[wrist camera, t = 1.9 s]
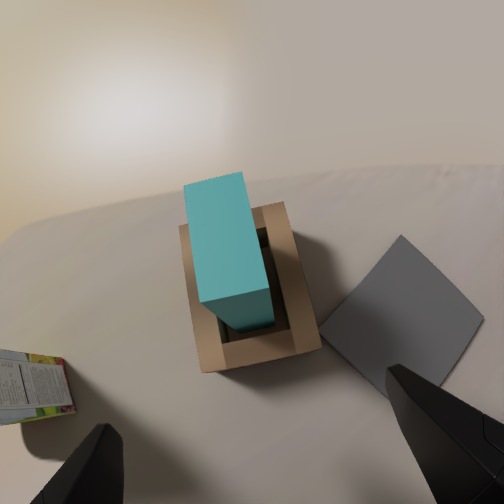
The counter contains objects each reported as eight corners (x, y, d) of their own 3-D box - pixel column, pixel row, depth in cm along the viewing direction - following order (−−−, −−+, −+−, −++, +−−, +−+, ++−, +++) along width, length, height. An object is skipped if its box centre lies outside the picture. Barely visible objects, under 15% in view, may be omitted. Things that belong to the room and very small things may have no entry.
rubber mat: (480, 317, 20) (483, 316, 20) (409, 419, 18) (411, 419, 18) (398, 236, 23) (400, 234, 23) (315, 330, 21) (316, 330, 21)
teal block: (275, 326, 21) (269, 287, 11) (240, 333, 21) (199, 302, 11) (260, 259, 23) (241, 171, 13) (226, 266, 23) (183, 185, 13)
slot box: (315, 350, 21) (322, 347, 17) (215, 372, 21) (201, 373, 17) (283, 227, 24) (283, 201, 21) (194, 247, 24) (178, 226, 21)
